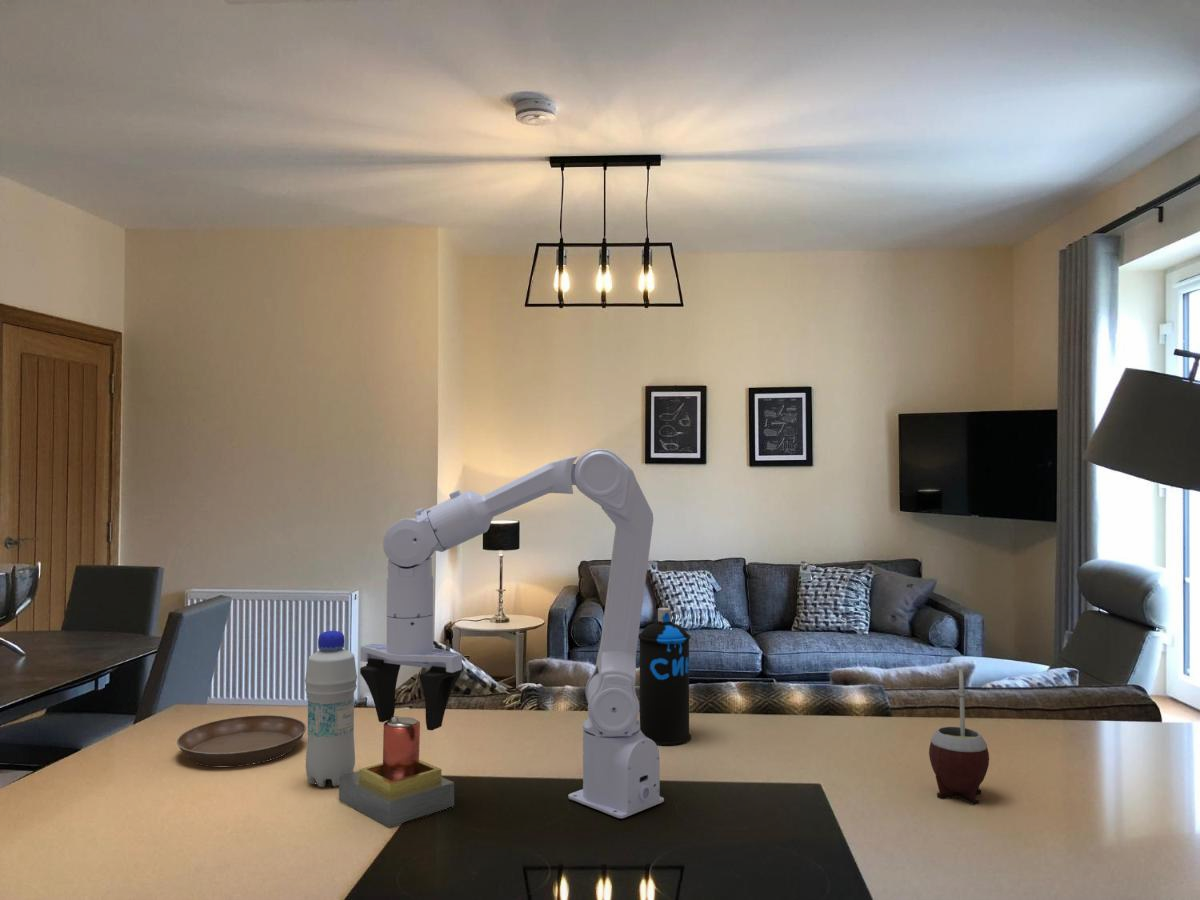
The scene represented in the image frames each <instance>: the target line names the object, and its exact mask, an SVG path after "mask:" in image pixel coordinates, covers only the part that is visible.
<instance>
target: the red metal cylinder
mask: <svg viewBox="0 0 1200 900" xmlns="http://www.w3.org/2000/svg"><path fill="white" fill-rule="evenodd" d="M420 732H421V722H420V720H418V719H416V718H414V717H409V716H397V715H394V716H393V717H391V719H390V720H388V721H385V722H383V734H382V735H383V739H382V741H383V742H382V763H383V776H382V777H384V778H386V779H388V780H390V781H395V780H399V779H402V778H406V777H409V776H412V775H416V774H419V760H420V742H421V739H420V738H421V737H420V736H421V734H420Z"/></svg>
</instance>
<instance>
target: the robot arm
mask: <svg viewBox="0 0 1200 900" xmlns="http://www.w3.org/2000/svg"><path fill="white" fill-rule="evenodd" d="M578 457H579V455H578V454H577V455H574V456H570V457H566V458H563V459H560V460H556V461H553V462H549V463H547V464H544V465H543V466H541V467H539V468H537V469H535V470H533V471H530V472H528V473H527V474H525V475H522V476H520V477H518V478H516V479H514V480H512V481H510V482H508V483H506V484H504V485H502V486H499V487H498V488H496V489H493V490H492V491H489V492H487V493H486V494H480V493H477V492H475V491H472V490H465V491H464V492H462V493H461V491H460V490H455V491H453V492H450V493H449V497H450V498H448V499H446V500H445V501H443V502H440V503H438V504H435V505H433V506H432V507H429V508H426V509H424V507H421V508H418V509H416V510H415V511H414V514H415V518H413V517H412V518H401V519H399V520H398V521H397V522H396V523H394V524H392V525H391V526H390V527H389V528H388V530H387V531H386V532H385V535H384V537H383V542H382V546H383V547H382V548H383V552H384V554H385V556H386V558H387V566H386V567H387V579H386V644H378V643H377V644H376V643H368V644H364V645H361V646H360V649H359V650H360V651H359V652H360V662H364V663H365V665H364V666H361V667H360V669H359V674H360V676H361V677H362V679H363V680H364V682H365V683H366V686H367V688H368V690H369V692H370V694H371V697H372V699H373V703H374V707H375V712H376V715H377V720H378V722H379V723H385V722H387V721H388V720H390V719H391V717H393V716H395V712H396V689H397V682H398V677H399V672H400V669H401V666H408V667H415V668H424V669H430V670H429V671H426V672H422V673H420V674H418V677H419V682H420V683H421V687H422V692H423V696H424V697H423V698H424V705H425V706H424V707H425V726H426V730H427V731H434V730H436V729H439V728H441V727H442V725H443V721H444V717H445V712H446V708H447V705H448V702H449V699H450V696H451V694H452V692H453V689H454V687H455V685H456V683H457V682H458V680H459V677H460V676H461V670H463V658H462V657H463V654H462V653H458V652H457V653H456V652H453V651H449V650H444V649H440V648H437V647H436V645H435V644H434V577H433V571H432V570H433V558H432V557H431V556H433V554H434V553H435V552H440V553H443V552H446V551H447V550H450V549H453V548H454V547H456V546H459V545H461V544H463V543H466V542H468V541H470V540H473V539H474V538H477V537H478V536H481V535H482V534H485V533H487V532H488V530H489V529H490V526H491V523H492V520H493V519H494V517H496V516H498V515H501V514H503V513H506V512H508V511H510V510H513V509H515V508H517V507H520V506H522V505H524V504H526V503H529V502H532V501H534V500H537V499H539V498H540V497H544V496H545V495H548V494H565V495H574V490H573V486H576V488H577V490H578V491H579V492H580V493H582V494H583V495H584V496H585V497H587V498H589V500H591V501H593V502H594V503H595V504H597V505H599V506H600V508H601V509H602V510H603V512H604V513H605V514H606V515H607V517H608V518H609V519H610V520H611V522H612V523H613V524H614V526H615V529H614V538H613V543H612V553H611V560H610V567H609V574H608V575H609V576H608V584H607V590H606V598H605V606H604V611H603V613H604V614H603V622H602V628H601V636H600V643H599V644H600V645H599V650H598V653H597V656H596V663H595V668H594V670H593V672H592V674H591V675H590V677H588V679H587V682H586V685H585V689H584V690H585V697H586V698H585V699H586V701H587V704H588V705H587V714H588V717H587V719H586V720H585V721H583V724H582V728H583V729H582V780H583V781H582V789H579V790H576V791H574V792H571V793H569V794H568V796H567V797H568V799H569V800H571V801H575V802H577V803H579V804H581V805H584V806H587V807H589V808H592V809H594V810H598V811H600V812H602V813H605V814H607V815H610V816H612V817H615V818H618V819H625V818H628V817H630V816H632V815H635V814H637V813H639V812H642V811H645V810H647V809H650V808H652V807H654V806H656V805H660V804H662V803H664V802H665V798H664V797H662V796H661V795H660V794H661V793H660V791H661V790H660V788H661V787H660V786H661V785H660V783H661V782H660V779H661V778H660V777H661V776H660V775H661V773H660V768H661V767H660V762H661V761H660V751H659V750H660V749H659V747H658V745H656V743H655V742H654V741H653V740H651V739H649V738H647V737H646V736H645V735H644V734H643V733H642V731H641V730H640V720H639V717H640V700H639V699H638V696H637V693H636V678H637V665H636V664H637V662H636V661H637V660H636V659H637V657H636V656H637V649H638V641H639V638H638V635H639V634H640V625H641V619H642V618H641V617H642V611H643V610H642V609H643V603H644V595H645V588H646V580H647V572H648V566H649V565H648V564H649V556H650V548H651V541H652V535H653V534H652V533H653V528H654V527H653V525H654V514H653V511H652V509H651V507H650V505H649V502H648V500H647V498H646V496H645V494H644V493H643V490H642V489H641V487H640V484H639V482H638V480H637V478H636V476H635V475H636V474H635V473H634V471H633V469H632V468H631V467H630V466H629V465H628V464H627V463H626V462H625V461H624V460H623V458H621V457H620V455H617V454H616V453H615V452H614V451H612V450H609V449H604V448H596V449H592V450H589V451H588V452H586V453H584V454H583V455H581V456H580V457H579V458H578ZM577 458H578V460H577ZM576 460H577V461H576ZM575 461H576V463H575Z"/></svg>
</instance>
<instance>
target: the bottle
mask: <svg viewBox="0 0 1200 900" xmlns="http://www.w3.org/2000/svg"><path fill="white" fill-rule="evenodd" d="M317 649H318V650H317V651H316V652H314V653H312V654H310V655H309V657H308V659H307V665H306V666H307V667H306V671H305V679H304V682H305V683H304V684H305V692H306V695H307V742H306V752H305V754H306V755H305V773H306V778H307V781H308V782H309V784H311V785H313V784H315V783H317V784H316V785H318V787H319V788H325V787H326V781H327V780H331V785H332V787H337V786H339V776H342V775H346V774H349V773H353V772H354V768H355V766H356V765H355V764H356V750H355V737H354V735H355V732H354V731H355V730H354V729H355V719H354V718H355V691H356V689H357V687H358V686H357V681H358V674H357V667H356V666H357V665H356V660H355V659H356V658H355V654H354V653H353V652H351V651H349V650H347V649H345V635H344V633H343V632H342V631H338V630H327V631H323V632H322V633H320V635H318V639H317Z"/></svg>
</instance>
